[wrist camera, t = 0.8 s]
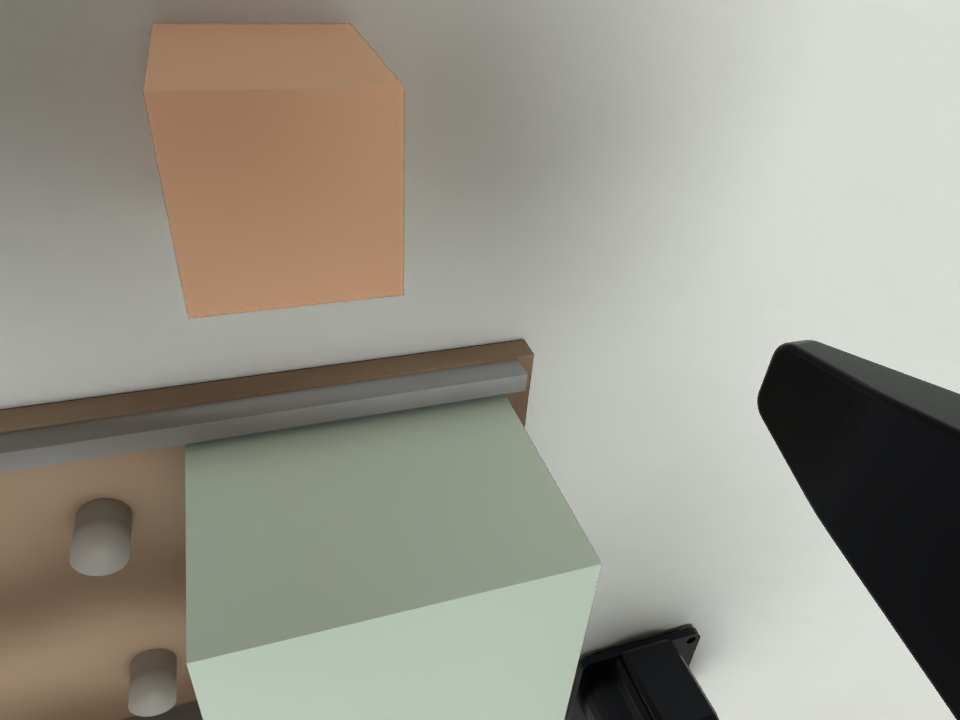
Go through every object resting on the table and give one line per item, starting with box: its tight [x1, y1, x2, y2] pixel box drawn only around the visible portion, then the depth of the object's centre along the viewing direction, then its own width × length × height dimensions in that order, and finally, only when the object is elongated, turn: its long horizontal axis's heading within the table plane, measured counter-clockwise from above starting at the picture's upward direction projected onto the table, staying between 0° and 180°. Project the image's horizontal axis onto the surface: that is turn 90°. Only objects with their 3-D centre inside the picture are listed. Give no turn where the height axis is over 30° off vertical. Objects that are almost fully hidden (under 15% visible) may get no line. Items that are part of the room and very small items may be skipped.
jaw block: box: [143, 23, 404, 319], centre depth 14 cm, size 4×4×5 cm
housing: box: [185, 394, 602, 720], centre depth 21 cm, size 12×9×7 cm
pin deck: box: [0, 340, 534, 720], centre depth 22 cm, size 14×22×2 cm, turn 86°
